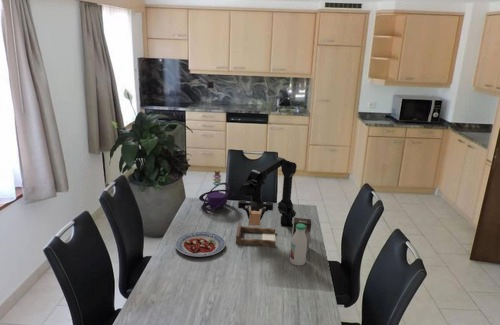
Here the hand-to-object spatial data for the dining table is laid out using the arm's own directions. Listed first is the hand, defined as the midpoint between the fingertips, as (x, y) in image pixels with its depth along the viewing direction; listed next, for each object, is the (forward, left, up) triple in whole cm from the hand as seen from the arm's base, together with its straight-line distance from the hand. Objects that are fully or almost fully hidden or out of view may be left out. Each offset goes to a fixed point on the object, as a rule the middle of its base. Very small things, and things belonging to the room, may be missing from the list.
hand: (254, 219), depth 208 cm
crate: (0, 0, -2) cm, 2 cm away
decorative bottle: (+26, -38, -11) cm, 48 cm away
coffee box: (-25, +8, -11) cm, 28 cm away
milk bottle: (-23, +22, -11) cm, 34 cm away
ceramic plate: (+27, +14, -11) cm, 33 cm away
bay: (-2, 0, -11) cm, 11 cm away
